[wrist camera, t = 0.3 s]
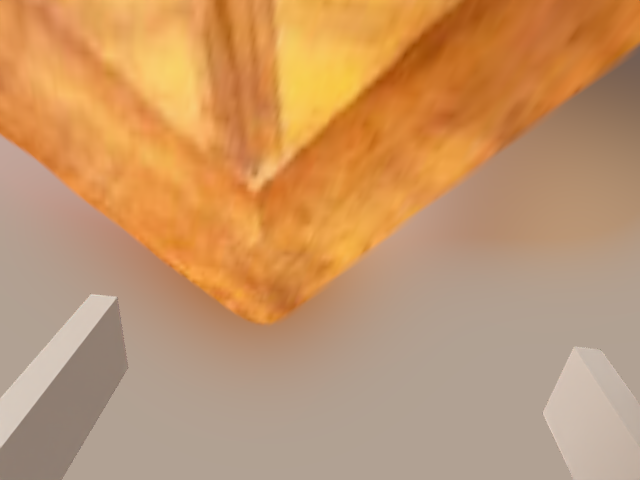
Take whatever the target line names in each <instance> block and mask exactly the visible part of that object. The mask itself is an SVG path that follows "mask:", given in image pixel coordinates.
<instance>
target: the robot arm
mask: <svg viewBox="0 0 640 480" xmlns="http://www.w3.org/2000/svg"><path fill="white" fill-rule="evenodd" d="M127 369H128V363H127V356H126V350H125V344H124V337H123V330H122V324H121V317H120V312H119V304H118V297H114V296H104V295H95V294H90V296H89V297H88V298H87V299H86V300H85V301H84V303H83V304H82V305H81V306H80V307H79V308H78V310H77V311H76V312H75V313H74V314H73V315H72V316H71V318H70V319H69V320H68V321H67V322H66V323H65V324H64V326H63V327H62V328H61V329H60V330H59V331H58V332H57V334H56V335H55V336H54V337H53V338H52V339H51V341H50V342H49V343H48V344H47V345H46V346H45V348H44V349H43V350H42V351H41V352H40V353H39V354H38V355H37V357H36V358H35V359H34V360H33V361H32V362H31V363H30V365H29V366H28V367H27V368H26V369H25V371H24V372H23V373H22V374H21V375H20V376H19V377H18V378H17V380H16V381H15V382H14V383H13V384H12V385H11V386H10V388H9V389H8V390H7V391H6V392H5V393H4V395H3V396H2V397H1V398H0V480H62V478H63V476H64V475H65V473H66V472H67V470H68V468H69V467H70V465H71V463H72V461H73V460H74V458H75V456H76V455H77V453H78V451H79V450H80V448H81V446H82V445H83V443H84V441H85V439H86V438H87V436H88V435H89V433H90V431H91V430H92V428H93V426H94V425H95V423H96V421H97V419H98V418H99V416H100V414H101V413H102V411H103V409H104V408H105V406H106V404H107V403H108V401H109V399H110V398H111V396H112V394H113V393H114V391H115V389H116V388H117V386H118V384H119V382H120V381H121V379H122V377H123V376H124V374H125V372H126V371H127ZM542 414H543V416H544V418H545V420H546V422H547V424H548V427H549V429H550V431H551V433H552V435H553V437H554V439H555V441H556V444H557V446H558V448H559V450H560V452H561V454H562V456H563V459H564V461H565V463H566V465H567V467H568V469H569V472H570V474H571V476H572V478H573V480H640V404H639V402H638V401H637V399H636V398H635V397H634V395H633V394H632V392H631V391H630V389H629V388H628V387H627V385H626V384H625V383H624V381H623V380H622V378H621V377H620V376H619V374H618V373H617V371H616V370H615V369H614V367H613V366H612V364H611V363H610V362H609V360H608V359H607V357H606V356H605V355H604V353H603V352H602V350H600V349H592V348H583V347H574V348H573V350H572V352H571V354H570V356H569V358H568V360H567V362H566V364H565V367H564V369H563V371H562V373H561V375H560V377H559V379H558V382H557V384H556V385H555V388H554V390H553V392H552V394H551V396H550V398H549V400H548V403H547V404H546V406H545V409H544V411H543V413H542Z"/></svg>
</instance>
